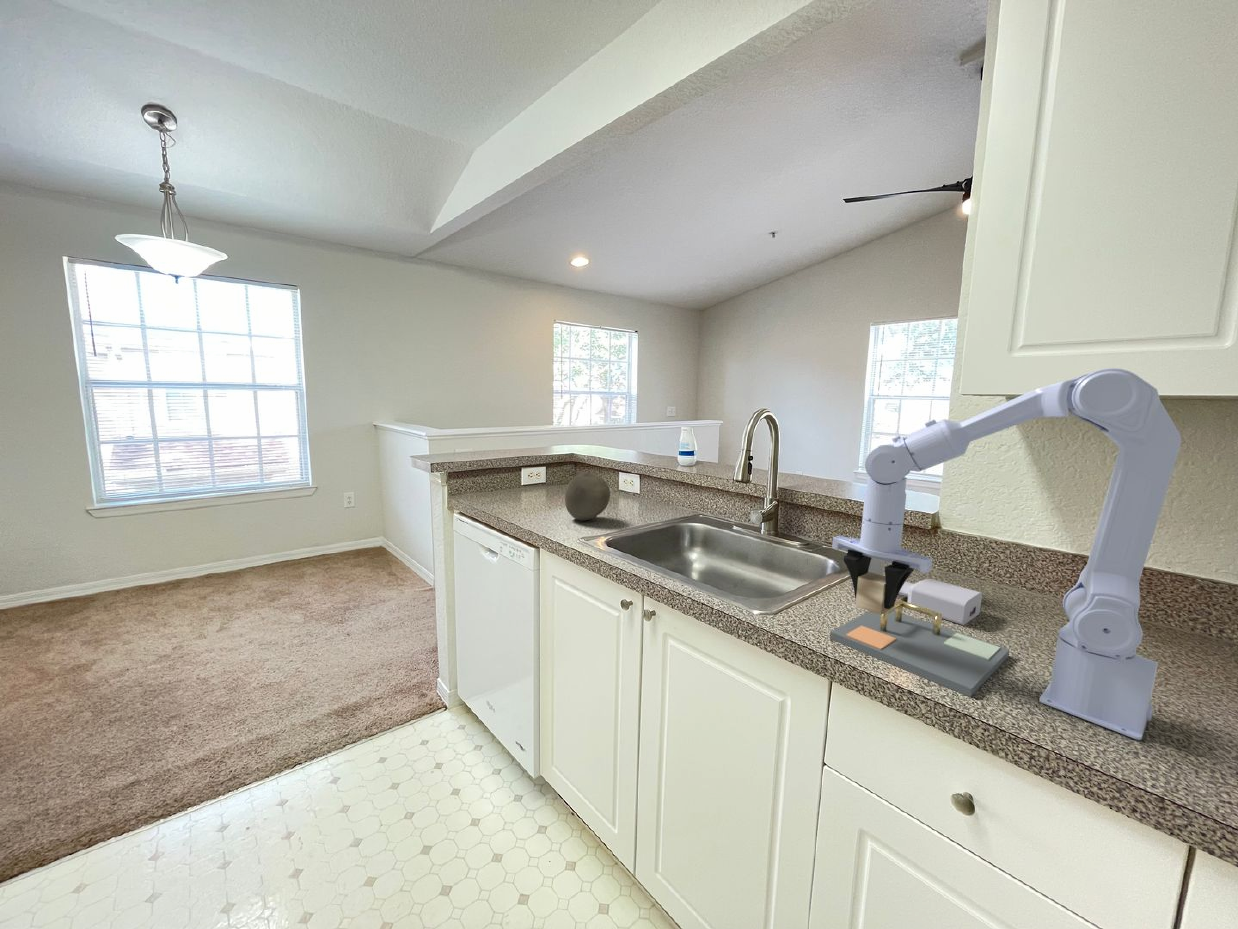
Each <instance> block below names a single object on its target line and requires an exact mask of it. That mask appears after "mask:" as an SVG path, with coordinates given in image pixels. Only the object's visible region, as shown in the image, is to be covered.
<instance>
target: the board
mask: <svg viewBox="0 0 1238 929" xmlns="http://www.w3.org/2000/svg"><path fill="white" fill-rule="evenodd" d="M895 615H896V610H894V611H892V612H890V613H888V620H887V629H886V631H885V632H884V631H881V630H880V621H881V615H879V614H876V613H873V612H870V611H866V612H865V613H862V614H861V615H859V616H857V617H856V618H853V619H852V620H850V621H848V622H846V623H844V624H842V625H841V626H839V627H837V628H835V629H833V630H831V631H830V632H829V640H832V641H835V642H837V643H840V644H842V645H844V646H847V647H849V648H851V649H853V650H857V651H859V652H862V653H864V654H866V655H868V656H870V657H873V658H874V659H878V660H881V661H883V662H886V663H887V664H890V665H891V666H894V667H897V668H899V669H902V670H903V671H904V670H905V671H907V672H909V673H911V674H914V675H917V676H919V677H920V678H923V679H926V680H928V681H931V682H934V683H935V684H938V685H940V686H943V687H945V688H948V689H950V690H952V691H955V692H957V693H960V694H962V695H964V696H967V697H969V698H971V697H972V696H973V695H974V694H975V693H976V692H977V691H978V690H979V689H980V688H981V687H982V685H983V684H984V683H985V682H986V681H987V680H988V679H990V677H991V676H992V675H993V674H994V672H996V671H997V669H998V668H1000V666H1002V664H1003V663H1005V661H1006V660H1007V659H1008V658H1009V657H1010V648H1008V647H1007V648H1006V647H1004V646H1002V645H998V644H996V643H995V644H994V643H993V642H990V641H986V640H984V639H980V638H977V637H975V636H971V635H968V634H965V633H963V632H960V631H957V630H953V629H950V628H948V627H944V626H942V625H941V629H940V635H939V636H937V635H934V634H933V627H934V622H933V623H932V622H930V621H926V620H923V619H922V618H921V619H920V618H917V617H915V616H911V615H908V614H906V613H903V612H902V621H901V622H897V621H895Z"/></svg>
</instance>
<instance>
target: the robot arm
mask: <svg viewBox="0 0 1238 929" xmlns="http://www.w3.org/2000/svg"><path fill="white" fill-rule="evenodd" d="M1070 414H1071V415H1072V416H1075V417H1076V418H1078V419H1080V420H1081V421H1083V422H1086V423H1088V424H1091V425H1093V426H1095V427H1096V428H1098V429H1099V430H1100V431H1101V433H1102V434H1103V435H1105V436H1106V437H1107V438H1108V439H1109V440H1110V441H1111V442H1112V443H1113V444H1114V445H1115V446H1117V448H1118V452H1117V455H1116V456H1117V457H1116V460H1115V463H1114V467H1113V470H1112V474H1111V477H1110V481H1109V484H1108V487H1107V492H1106V494H1105V495H1106V496H1105V499H1104V503H1103V505H1102V510H1101V512H1100V513H1101V514H1100V515H1099V516H1100V518H1099V520H1098V524H1097V527H1096V531H1095V535H1094V538H1093V542H1092V545H1091V548H1090V551H1089V556H1088V560H1087V563H1086V565H1085V566H1084V568H1083V569H1082V571H1081V572H1080V574H1079V578H1078V580H1077V582H1076V583H1075V585H1074V586H1073V587H1072V588H1070V589H1069V590H1068V591H1067V592H1066V593H1065V595H1064V596H1063V600H1062V607H1063V608H1062V609H1063V611H1064V613H1065V614H1066V616H1067V617H1068V620H1069V621H1068V622H1067V623H1066V624H1065V625H1064V626H1063V627H1061V628H1059V630H1058V634H1057V642H1056V648H1055V651H1054V652H1055V654H1054V660H1053V665H1052V673H1051V679H1050V682H1049V684H1048V685H1047V686H1046V688H1045V690H1044V691H1043V692H1042V693H1041V695H1040V697H1039V702H1040V703H1042V704H1044V705H1046V706H1049V707H1052V708H1054V709H1056V710H1060V711H1062V712H1064V713H1068V714H1070V715H1073V716H1075V717H1078V718H1079V719H1083V720H1085V721H1088V722H1091V723H1093V724H1096V725H1097V726H1100V727H1103V728H1106V729H1109V730H1111V731H1114V732H1116V733H1118V734H1119V733H1120V735H1121V734H1122V735H1124V736H1127V737H1129V738H1132V739H1135V740H1137V741H1140V740H1141V741H1142V740H1143V735H1144V732H1145V728H1146V725H1147V722H1148V721H1149V722H1150V721H1152V717H1153V712H1154V706H1152V705H1151V704H1152V702H1151V701H1152V696H1153V692H1154V687H1155V681H1156V675H1157V671H1158V665H1159V664H1158V662H1157V661H1155V660H1152V659H1149V658H1146V657H1145V656H1142V655H1140V654H1138V653H1136V651H1137V648H1138V647H1139V646H1140V644H1142V641H1143V635H1144V633H1143V629H1142V626H1141V624H1140V621H1139V616H1138V615H1139V610H1140V606H1141V593H1140V592H1141V591H1140V580H1141V577H1142V574H1143V571H1144V567H1145V565H1146V561H1147V558H1148V554H1149V550H1150V547H1151V544H1152V541H1153V537H1154V535H1155V530H1156V529H1157V524H1158V521H1159V517H1160V514H1161V511H1162V509H1163V508H1162V507H1163V504H1164V501H1165V498H1166V495H1167V491H1168V488H1169V484H1170V481H1171V478H1172V475H1173V472H1174V469H1175V465H1176V461H1177V458H1178V455H1179V451H1180V448H1181V445H1182V437H1181V434H1180V433H1179V430H1178V429H1177V426H1176V425H1175V424H1174V422H1173V420H1172V418H1171V416H1170V415H1169V413H1168V412H1167V410H1166V408H1165V406H1164V405H1163V403H1162V402H1161V398H1160V395H1159V392H1158V389H1157V388H1155V387H1154V386H1153V385H1151V384H1150V383H1149V382H1147V381H1146V380H1144V379H1143V378H1141V377H1140V376H1139V375H1137V374H1135V373H1133V372H1132V371H1129V370H1126V369H1122V368H1118V367H1117V368H1114V367H1112V368H1111V367H1109V368H1102V369H1098V370H1095V371H1093V372H1090V373H1086V374H1083V375H1081V376H1078V377H1074V378H1071V379H1066V380H1064V381H1061V382H1060V381H1059V382H1056V383H1052V384H1049V385H1045V386H1042V387H1039V388H1035V389H1033V390H1031V391H1028V392H1027V393H1024V394H1021V395H1019V396H1017V397H1015V398H1013V399H1010V400H1008V401H1006V402H1003V403H1001V404H999V405H997V406H994V407H992V408H990V409H988V410H985V411H983V412H982V413H979V414H976V415H974V416H972V417H970V418H968V419H965V420H963V421H960V422H957V421H952V420H950V419H941V420H938V421H936V420H935V419H932V420H929V421H927V422H925V423H924V427H922V428H920V429H918V430H915V431H914V432H911V433H909V434H906V435H904V436H902V437H901V436H900V435H896V436H894V437H893V438H891V440H892V442H893V444H891V443H888V444H881V445H878V446H877V447H876V448H874V449H872V450H871V451H870V452H869V453H868V455H867V457H866V458H865V460H864V469H865V472H866V474H867V479H866V489H865V490H864V491H865V492H864V499H863V509H862V519H861V520H862V521H861V529H860V530H861V531H860V538H853V537H848V536H847V537H846V536H842V535H837V536H833V537H832V549H834V550H843V551H845V552H847V553H846V555H844V556H843V562H844V563H845V566H846V568H847V569H848V572H849V575H850V578H851V582H852V587H853V591H854V598H855V599H856V594H857V584H858V577H859V576H861V575H864V574H866V573H868V570H869V566H870V562H871V558H876V559H880V560H883V561H884V562H887V563H891V564H889V565H887V566H884V576H885V577H886V591H885V598H884V608H886V609H890V608H892V607H894V604H895V602H896V601H897V599H898V596H899V595H900V594H899V591H900V590H901V588H902V586H903V584H904V583H905V581H906V582H907V580H908V578H909V577H910V576H911V575H912V573H913V572H914V570H918V571H919V572H920V573H923V574H928V573H930V572H932V568H933V560H934V559H933V558H932V557H929V556H926V555H925V556H924V555H922V554H918V553H915V552H912V551H911V550H907V549H904V548H902V538H903V530H904V520H905V511H906V500H907V493H906V488H907V486H906V485H907V477H906V476H907V475H909V473H910V472H915V473H916V472H918V473H919V472H920V473H921V472H922V471H925V470H927V469H930V468H932V467H936V466H938V465H941V464H943V463H946V462H948V461H951V460H953V459H956V458H959V457H961V456H963V455H965V454H966V452H967V450H968V447H969V444H970V443H971V442H973V441H976V440H979V439H981V438H984V437H987V436H990V435H993V434H995V433H998V432H1001V431H1003V430H1006V429H1009V428H1012V427H1014V426H1018V425H1020V424H1022V423H1023V424H1024V423H1026V422H1028V421H1030V420H1034V419H1037V418H1069V417H1070Z"/></svg>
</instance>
